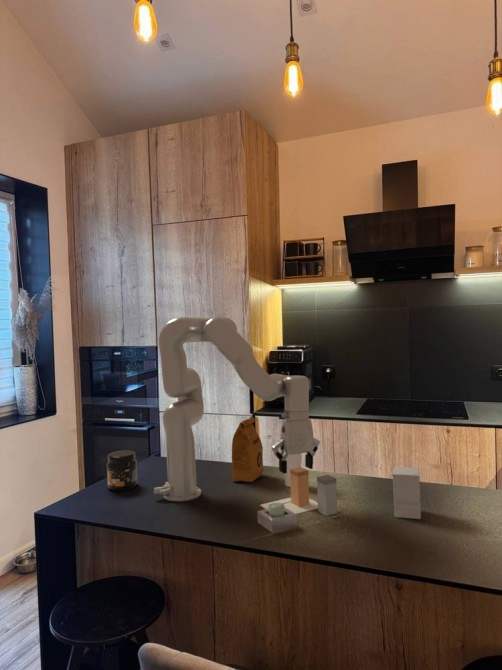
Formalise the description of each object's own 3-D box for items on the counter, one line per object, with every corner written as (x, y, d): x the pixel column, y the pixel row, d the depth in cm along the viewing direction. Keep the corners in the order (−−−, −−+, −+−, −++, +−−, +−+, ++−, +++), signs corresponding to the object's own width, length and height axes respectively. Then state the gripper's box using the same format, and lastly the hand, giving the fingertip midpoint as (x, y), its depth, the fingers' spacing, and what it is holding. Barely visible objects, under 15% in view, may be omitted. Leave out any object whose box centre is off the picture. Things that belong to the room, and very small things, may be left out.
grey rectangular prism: (326, 517, 138) (325, 480, 138) (317, 512, 142) (316, 477, 141) (337, 514, 140) (336, 478, 140) (328, 509, 144) (327, 474, 143)
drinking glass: (302, 482, 169) (301, 440, 169) (302, 489, 162) (301, 445, 162) (283, 482, 170) (282, 440, 169) (282, 489, 163) (281, 445, 163)
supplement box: (420, 510, 141) (419, 467, 141) (421, 520, 134) (419, 475, 134) (394, 507, 143) (393, 466, 143) (393, 517, 136) (392, 473, 136)
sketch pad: (280, 519, 138) (280, 517, 138) (259, 506, 148) (259, 504, 148) (324, 507, 145) (324, 506, 145) (302, 495, 156) (302, 494, 156)
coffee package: (268, 475, 179) (266, 417, 179) (252, 485, 168) (250, 423, 168) (244, 472, 184) (242, 415, 183) (228, 482, 173) (226, 421, 172)
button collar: (272, 533, 128) (271, 520, 128) (257, 523, 135) (257, 511, 135) (296, 526, 132) (296, 514, 132) (281, 517, 139) (281, 505, 139)
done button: (274, 522, 131) (273, 509, 130) (266, 517, 134) (265, 504, 134) (287, 518, 133) (287, 506, 133) (279, 513, 136) (278, 501, 136)
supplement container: (101, 489, 169) (99, 456, 168) (120, 480, 178) (118, 448, 178) (125, 493, 165) (124, 458, 164) (143, 483, 174) (142, 450, 174)
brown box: (298, 507, 145) (297, 472, 145) (291, 503, 149) (289, 469, 149) (309, 504, 147) (308, 470, 147) (301, 500, 151) (300, 467, 151)
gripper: (279, 420, 140) (279, 477, 141) (326, 415, 149) (325, 469, 149) (266, 416, 147) (266, 470, 147) (312, 411, 155) (311, 463, 156)
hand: (296, 470), depth 148 cm, fingers open, 9 cm apart
